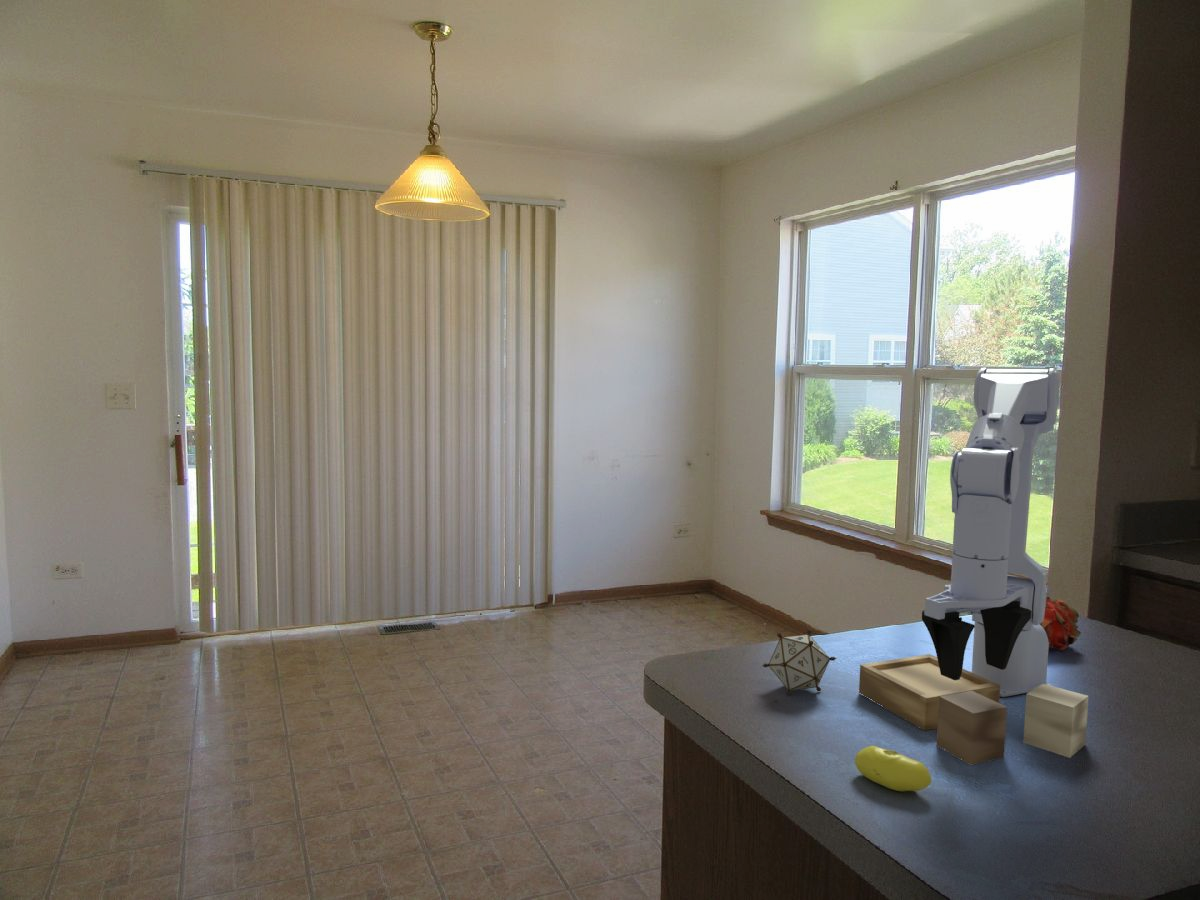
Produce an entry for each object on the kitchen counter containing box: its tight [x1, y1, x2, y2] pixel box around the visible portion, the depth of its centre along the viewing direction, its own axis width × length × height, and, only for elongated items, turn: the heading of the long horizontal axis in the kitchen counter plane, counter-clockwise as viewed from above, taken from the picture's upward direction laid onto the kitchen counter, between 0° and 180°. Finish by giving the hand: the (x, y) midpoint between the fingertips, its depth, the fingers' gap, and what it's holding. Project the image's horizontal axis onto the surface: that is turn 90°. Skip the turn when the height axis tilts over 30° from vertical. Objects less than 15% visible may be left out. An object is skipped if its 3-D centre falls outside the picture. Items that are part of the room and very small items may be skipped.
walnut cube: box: [936, 691, 1008, 766], centre depth 93 cm, size 5×5×6 cm
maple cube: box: [1022, 684, 1089, 759], centre depth 95 cm, size 5×5×6 cm
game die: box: [761, 628, 837, 697], centre depth 110 cm, size 9×8×10 cm
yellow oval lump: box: [854, 745, 932, 792], centre depth 85 cm, size 4×8×4 cm, turn 44°
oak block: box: [858, 653, 1001, 731], centre depth 106 cm, size 12×12×4 cm
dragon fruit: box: [1040, 596, 1082, 651], centre depth 129 cm, size 8×8×12 cm
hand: (973, 671), depth 92 cm, fingers open, 7 cm apart
